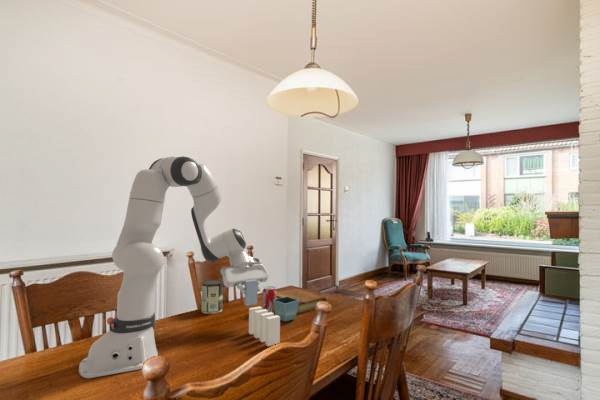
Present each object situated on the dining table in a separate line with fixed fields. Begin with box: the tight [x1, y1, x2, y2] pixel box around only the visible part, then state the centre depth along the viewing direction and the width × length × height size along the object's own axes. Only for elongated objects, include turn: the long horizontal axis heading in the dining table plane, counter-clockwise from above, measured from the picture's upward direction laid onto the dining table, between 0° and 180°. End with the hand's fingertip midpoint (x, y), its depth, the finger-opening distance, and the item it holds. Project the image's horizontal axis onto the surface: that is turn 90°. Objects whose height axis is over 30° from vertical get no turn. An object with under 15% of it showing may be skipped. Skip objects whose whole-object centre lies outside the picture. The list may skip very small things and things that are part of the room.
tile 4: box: [265, 314, 281, 347], centre depth 121 cm, size 5×2×10 cm, turn 126°
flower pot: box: [273, 297, 299, 323], centre depth 148 cm, size 9×9×9 cm
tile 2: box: [253, 309, 268, 339], centre depth 128 cm, size 5×2×10 cm, turn 126°
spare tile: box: [243, 279, 258, 307], centre depth 136 cm, size 5×2×10 cm, turn 126°
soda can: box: [261, 285, 278, 313], centre depth 158 cm, size 7×7×12 cm
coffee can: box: [201, 279, 224, 315], centre depth 159 cm, size 10×10×14 cm
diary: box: [277, 288, 327, 315], centre depth 170 cm, size 23×19×6 cm
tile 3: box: [259, 312, 275, 343], centre depth 124 cm, size 5×2×10 cm, turn 126°
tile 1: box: [248, 305, 262, 336], centre depth 132 cm, size 5×2×10 cm, turn 126°
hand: (251, 291), depth 135 cm, fingers closed on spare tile, 5 cm apart
